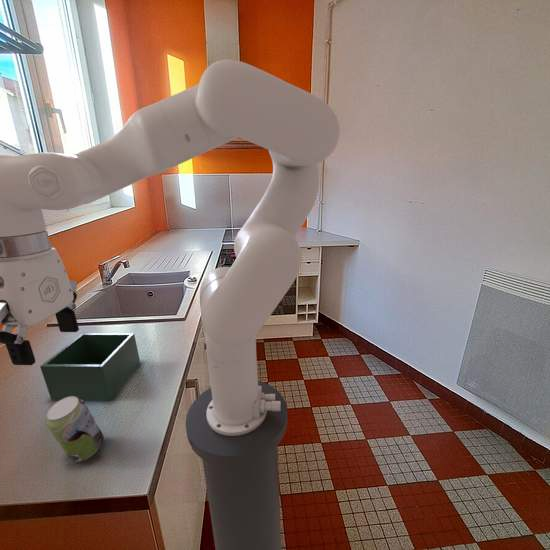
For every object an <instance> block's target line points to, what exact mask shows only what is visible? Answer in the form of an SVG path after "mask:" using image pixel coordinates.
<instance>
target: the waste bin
mask: <svg viewBox="0 0 550 550" xmlns="http://www.w3.org/2000/svg"><path fill="white" fill-rule="evenodd" d="M140 364H141V360H140V355H139V349H138V345H137V340H136V336H135V333H133V332H131V333H129V332H127V333H126V332H125V333H123V332H120V333H119V332H117V333H116V332H113V333H112V332H111V333H110V332H109V333H107V332H105V333H104V332H103V333H101V332H100V333H98V332H97V333H93V332H92V333H91V332H90V333H88V332H87V333H86V332H85V333H81V334H79V335H78V336H77V337H76V338H74V339H73V340H72V341H70V342H69V343H68V344H67V345H66V346H64V347H63V348H61V349H60V350H59V351H57V352H56V353H55V354H53V355H52V356H51V357H50V358H49V359H48V360H46V361H45V362H43V363H42V364H41V365H40V366H39V367H40V371H41V374H42V376H43V379H44V382H45V386H46V389H47V391H48V394H49V398H50V400H51V401H59V400H61V399H63V398H66V397H69V396H75V397H77V398H78V399H81V400H83V401H84V402H85V401H94V402H111V401H112V400H113V399H114V398H115V396H116V395H117V394H118V393H119V392H120V390H121V389H122V387H123V386H124V385H125V384H126V382H127V381H128V380H129V378H130V377H131V376H132V375H133V374H134V372H135V371H136V370H137V368H138V367H139V366H140Z"/></svg>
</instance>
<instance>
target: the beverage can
mask: <svg viewBox="0 0 550 550" xmlns="http://www.w3.org/2000/svg"><path fill="white" fill-rule="evenodd" d="M45 423H46V427H47V428H48V429H49V431H50V432H51V434H52V436H53V437H54V439H56V441H57V442H58V444H59V446H60V447H61V448H62V450H63V451H64V453H65V454H66V456H67V457H68V458H69V460H70V461H72V462H74V463H80V462H84V461H87V460H89V458H91V457H93V456H94V455H95V454H96V453H97V452H98V451H100V449H101V447H102V446H103V444H104V440H105V436H104V434H103V432H102V430H101V429H100V427H99V425H98V423H97V421H96V420H95V418H94V416H93V414H92V413H91V411H90V409H89V407H88V405H87V404H86V402H85V401H83V400H81V399H78V398H77V397H75V396H69V397H66V398H63V399H61V400H57V401H56V402H54V404H52V405H51V406H50V407H49V408H48V410H47V411H46V420H45Z"/></svg>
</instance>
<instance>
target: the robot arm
mask: <svg viewBox="0 0 550 550" xmlns="http://www.w3.org/2000/svg"><path fill="white" fill-rule="evenodd" d="M340 130H341V129H340V123H339V119H338V117H337V114H336V113H335V111H334V109H333V108H332V107H331V106H330V105H329V104H328V103H327V102H325V101H324V100H323V99H322V98H320V97H318V96H316V95H315V94H313V93H311V92H310V91H306V90H304V89H303V88H300V87H298V86H297V85H293V84H292V83H289V82H287V81H286V80H283V79H281V78H279V77H277V76H276V75H274V74H271V73H269V72H267V71H265V70H263V69H260V68H258V67H256V66H254V65H251V64H249V63H247V62H244V61H241V60H237V59H231V58H230V59H228V58H227V59H225V58H224V59H220V60H216V61H215V62H213V63H211V64H210V65H208V66H207V68H205V70H204V72H203V73H202V74H201V77H200V79H199V83H198V84H196V85H193V86H191V87H189V88H185V90H182V91H180V92H177V93H175V94H173V95H171V96H168V97H166V98H163V99H161V100H159V101H156V102H154V103H152V104H149V105H147V106H144V107H141V108H140V109H137V110H136V111H135V112H133V114H131V115H130V116H129V118H128V119H127V121H126V122H125V124H124V126H123V127H122V128H121V129H120V130H119V131H118V132H117V133H115V134H114V135H113V136H111V137H109V138H107V139H106V140H104V141H102V142H100V143H98V144H96V145H94V146H90V147H89V148H86V149H84V150H81V151H79V152H76V153H74V154H66V153H58V152H48V151H47V152H36V153H35V152H34V153H30V154H22V155H21V154H20V155H7V154H4V155H3V154H0V325H2V328H1V327H0V345H5V347H6V350H7V352H8V356H9V358H10V360H11V363H12V365H14V366H33V365H34V364H35V363H36V358H35V354H34V351H33V348H32V345H31V342H30V340H29V339H25V338H26V335H27V332H28V329H29V327H32V326H36V325H39V324H40V323H42V322H44V321H46V320H48V319H49V318H51V317H52V316H55V319H56V323H57V326H58V329H59V332H60V333H78V332H79V331H80V328H79V323H78V320H77V316H76V313H75V311H76V309H77V304H76V301H77V297H78V294H77V288H78V282H77V280H72V279H70V278H69V275H68V271H67V270H66V267H65V265H64V262H63V260H62V258H61V256H60V254H59V252H58V251H57V248H55V247H52V244H51V240H50V235H49V232H48V229H47V225H46V222H45V217H44V213H43V210H47V211H64V210H71V209H74V208H77V207H80V206H83V205H88V204H91V203H93V202H96V201H98V200H101V199H102V198H103V199H104V198H105V197H107V196H109V195H111V194H113V193H116V192H119V191H120V190H123V189H125V188H127V187H129V186H131V185H134V184H135V183H137V182H140V181H142V180H145V179H147V178H149V177H152V176H156V175H159V174H162V173H163V172H166V171H168V170H170V169H173V168H174V167H176V166H178V165H182V164H183V163H186V162H188V161H189V160H191V159H194V158H196V157H198V156H201V155H203V154H206V153H207V152H210V151H212V150H214V149H217V148H219V147H221V146H223V145H225V144H228V143H230V142H232V141H234V140H236V139H238V138H240V139H242V140H244V141H247V142H249V143H251V144H253V145H257V146H259V147H261V148H263V149H266V150H267V151H268V153H269V157H270V158H271V162H272V176H271V180H270V183H269V184H268V187H267V188H266V190H265V191H264V194H263V196H262V197H261V199H260V201H258V203H257V204H256V206H255V208H254V209H253V210H252V213H251V214H250V216H249V217H248V218H247V220H246V221H245V223H244V224H243V225H242V227H240V230H238V232H237V234H236V236H235V237H234V243H233V252H234V254H235V259H234V261H233V263H232V264H231V266H221V267H217V268H214V269H212V270H211V271H210V272H209V273H208V274H206V276H205V277H204V278H203V280H202V282H201V285H200V288H199V307H200V319H201V323H202V328H203V330H204V331H203V333H204V340H205V348H206V358H207V366H208V375H209V381H210V388H211V391H212V399H213V400H212V401H211V402H210V404H209V405H208V408H207V413H206V416H207V421H208V424H209V426H210V427H211V428H212V429H213V430H214V431H215V432H217V433H219V434H222V435H226V436H239V435H243V434H246V433H249V432H251V431H253V430H254V429H256V428H257V427H258V426H260V424H261V423H262V422H263V421H264V419H265V417H266V414H267V411H280V409H281V402H280V401H275V394H264V393H262V390H261V386H258V381H259V376H258V375H259V374H258V360H257V359H258V358H257V357H258V356H257V337H256V335H257V334H258V332H259V331H261V329H262V328H263V327H264V325H265V324H266V323H267V321H268V320H269V318H270V317H271V315H272V314H273V313H274V311H275V310H276V308H277V307H278V305H279V304H280V303H281V301H282V300H283V299H284V297H285V296H286V294H287V293H288V291H289V290H290V288H291V287H292V285H293V284H294V282H295V280H296V278H297V276H298V275H299V271H300V268H301V265H302V249H301V246H300V244H299V241H298V240H297V238H296V236H297V235H298V233H299V231H300V230H301V229H302V227H303V225H304V224H305V222H306V220H307V218H308V217H309V215H310V213H311V212H312V210H313V208H314V206H315V203H316V201H317V199H318V194H319V188H320V170H319V164H320V163H322V162H324V161H325V160H326V159H328V158H329V157H330V156H331V155H332V154H333V152H334V151H335V150H336V147H337V145H338V142H339V139H340ZM15 327H16V330H15V332H14V333H13V331H14V328H15ZM265 400H269V401H272V402H268V401H265Z"/></svg>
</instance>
